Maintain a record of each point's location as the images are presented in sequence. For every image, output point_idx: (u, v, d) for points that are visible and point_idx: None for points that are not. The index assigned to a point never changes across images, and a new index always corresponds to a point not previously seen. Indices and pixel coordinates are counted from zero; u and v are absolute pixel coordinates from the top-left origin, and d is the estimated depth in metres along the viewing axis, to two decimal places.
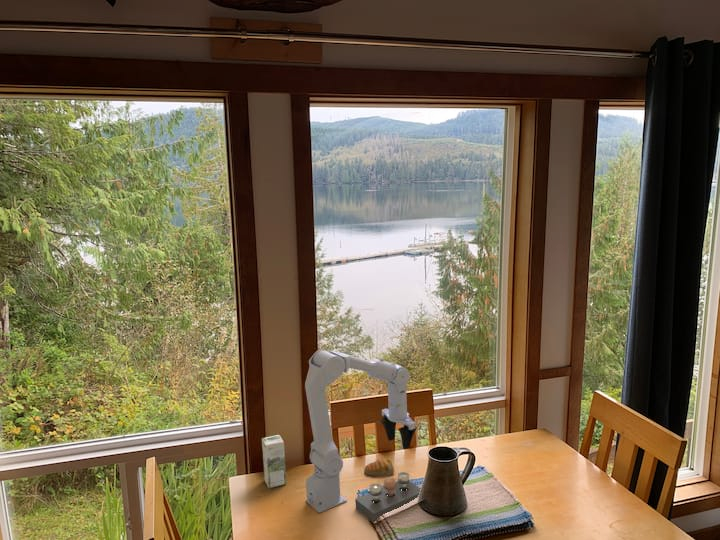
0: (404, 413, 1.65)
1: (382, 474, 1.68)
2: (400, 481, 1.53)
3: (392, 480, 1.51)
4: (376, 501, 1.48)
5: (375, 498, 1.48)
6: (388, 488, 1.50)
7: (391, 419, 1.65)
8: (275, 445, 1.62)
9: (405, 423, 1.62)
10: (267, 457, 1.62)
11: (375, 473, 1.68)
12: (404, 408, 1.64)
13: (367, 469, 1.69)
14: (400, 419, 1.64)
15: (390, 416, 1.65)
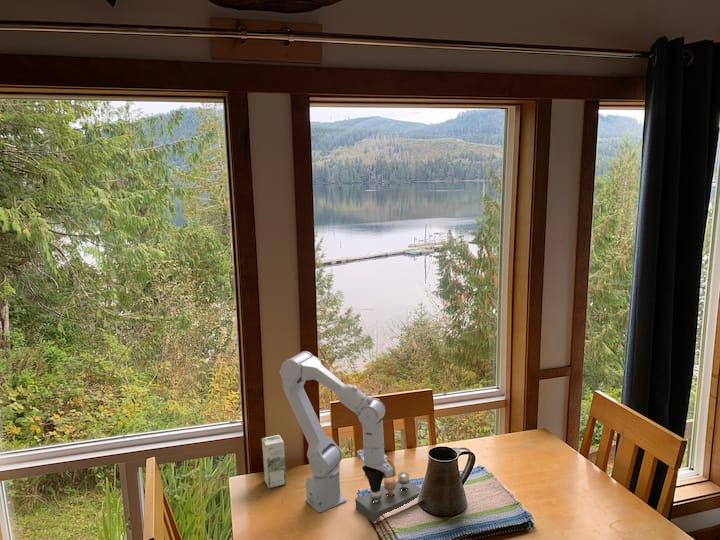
0: (381, 456, 1.45)
1: (384, 475, 1.68)
2: (400, 481, 1.53)
3: (392, 480, 1.51)
4: None
5: (376, 502, 1.48)
6: (388, 488, 1.50)
7: (366, 464, 1.45)
8: (275, 445, 1.62)
9: (381, 469, 1.42)
10: (267, 457, 1.62)
11: None
12: (381, 451, 1.45)
13: None
14: (376, 464, 1.44)
15: (365, 460, 1.46)
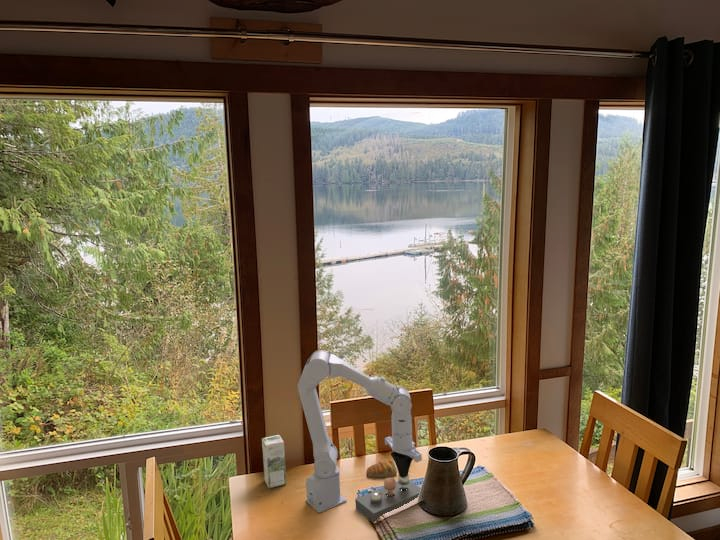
0: (410, 442, 1.51)
1: (385, 475, 1.67)
2: (400, 482, 1.53)
3: (392, 480, 1.51)
4: None
5: None
6: (388, 488, 1.50)
7: (395, 450, 1.51)
8: (275, 445, 1.62)
9: (410, 454, 1.48)
10: (267, 457, 1.62)
11: (377, 475, 1.67)
12: (409, 438, 1.50)
13: (370, 471, 1.67)
14: (405, 450, 1.50)
15: (394, 446, 1.51)
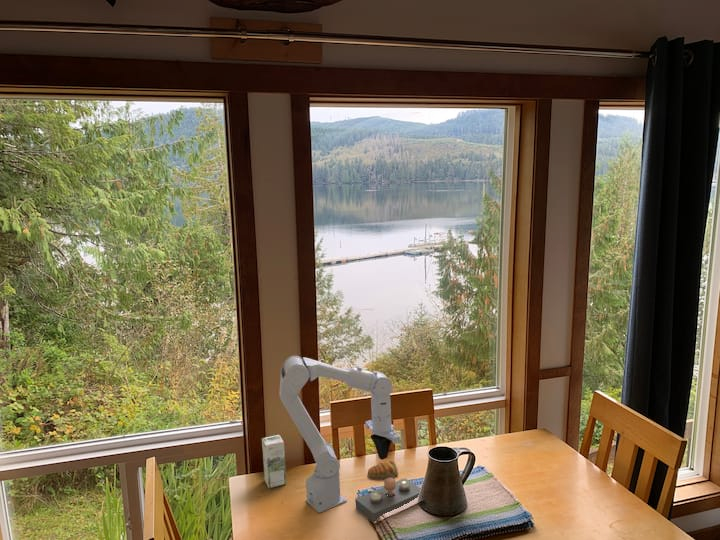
0: (388, 425, 1.55)
1: (387, 476, 1.67)
2: (400, 488, 1.53)
3: (392, 480, 1.51)
4: None
5: None
6: (388, 488, 1.50)
7: (374, 432, 1.55)
8: (275, 445, 1.62)
9: (389, 436, 1.52)
10: (267, 457, 1.62)
11: (379, 476, 1.66)
12: (388, 420, 1.55)
13: (371, 472, 1.67)
14: (384, 432, 1.54)
15: (373, 429, 1.55)
